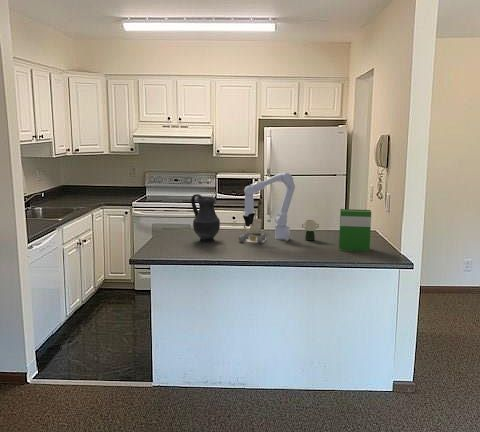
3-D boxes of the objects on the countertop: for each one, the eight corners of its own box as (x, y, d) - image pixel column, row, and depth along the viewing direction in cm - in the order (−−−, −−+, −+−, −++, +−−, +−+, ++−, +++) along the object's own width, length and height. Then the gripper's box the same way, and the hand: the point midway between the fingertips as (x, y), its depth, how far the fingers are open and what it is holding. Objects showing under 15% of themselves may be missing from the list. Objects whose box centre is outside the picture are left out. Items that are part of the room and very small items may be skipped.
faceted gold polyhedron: (257, 239, 324) (257, 235, 324) (255, 241, 320) (255, 237, 320) (251, 239, 325) (251, 235, 325) (249, 240, 321) (249, 237, 321)
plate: (266, 239, 327) (266, 238, 327) (261, 245, 312) (261, 244, 312) (244, 238, 331) (244, 237, 331) (238, 243, 316) (238, 242, 316)
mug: (260, 235, 341) (260, 220, 339) (242, 234, 343) (242, 220, 341) (262, 232, 349) (262, 218, 347) (244, 232, 351) (244, 218, 349)
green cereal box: (339, 250, 300) (340, 211, 296) (339, 247, 307) (340, 209, 303) (369, 251, 297) (371, 211, 293) (368, 248, 304) (370, 209, 300)
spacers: (266, 239, 326) (266, 233, 325) (261, 244, 312) (261, 238, 312) (244, 237, 330) (244, 232, 329) (238, 242, 316) (238, 237, 315)
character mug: (318, 239, 330) (318, 219, 327) (318, 241, 323) (319, 221, 320) (301, 238, 331) (302, 219, 329) (301, 241, 324) (302, 221, 322)
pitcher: (207, 245, 312) (207, 197, 306) (183, 240, 324) (182, 195, 319) (225, 240, 325) (225, 194, 320) (201, 236, 338) (200, 192, 332)
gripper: (246, 202, 330) (246, 222, 332) (240, 206, 316) (240, 227, 319) (256, 203, 328) (256, 223, 331) (250, 206, 314) (250, 227, 317)
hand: (249, 225), depth 325 cm, fingers open, 7 cm apart
